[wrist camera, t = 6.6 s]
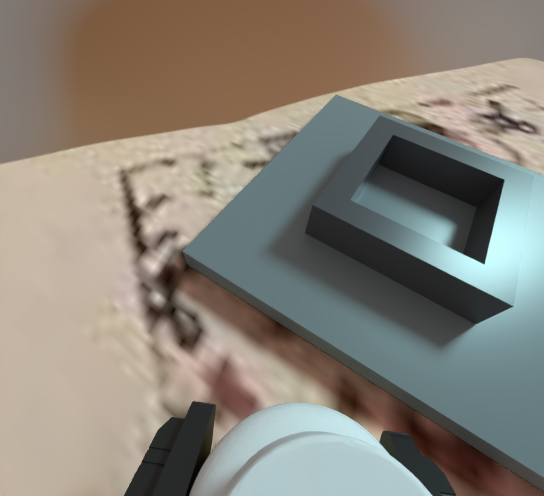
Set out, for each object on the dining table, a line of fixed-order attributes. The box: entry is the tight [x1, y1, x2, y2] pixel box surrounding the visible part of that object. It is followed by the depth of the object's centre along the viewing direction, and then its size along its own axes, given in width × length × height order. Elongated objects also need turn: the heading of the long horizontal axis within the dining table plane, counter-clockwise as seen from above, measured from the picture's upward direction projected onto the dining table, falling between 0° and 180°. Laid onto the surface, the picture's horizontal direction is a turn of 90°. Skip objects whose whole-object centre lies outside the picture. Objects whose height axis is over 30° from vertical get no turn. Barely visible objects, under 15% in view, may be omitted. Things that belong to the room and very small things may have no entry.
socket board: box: [182, 95, 544, 492], centre depth 18 cm, size 20×20×4 cm
